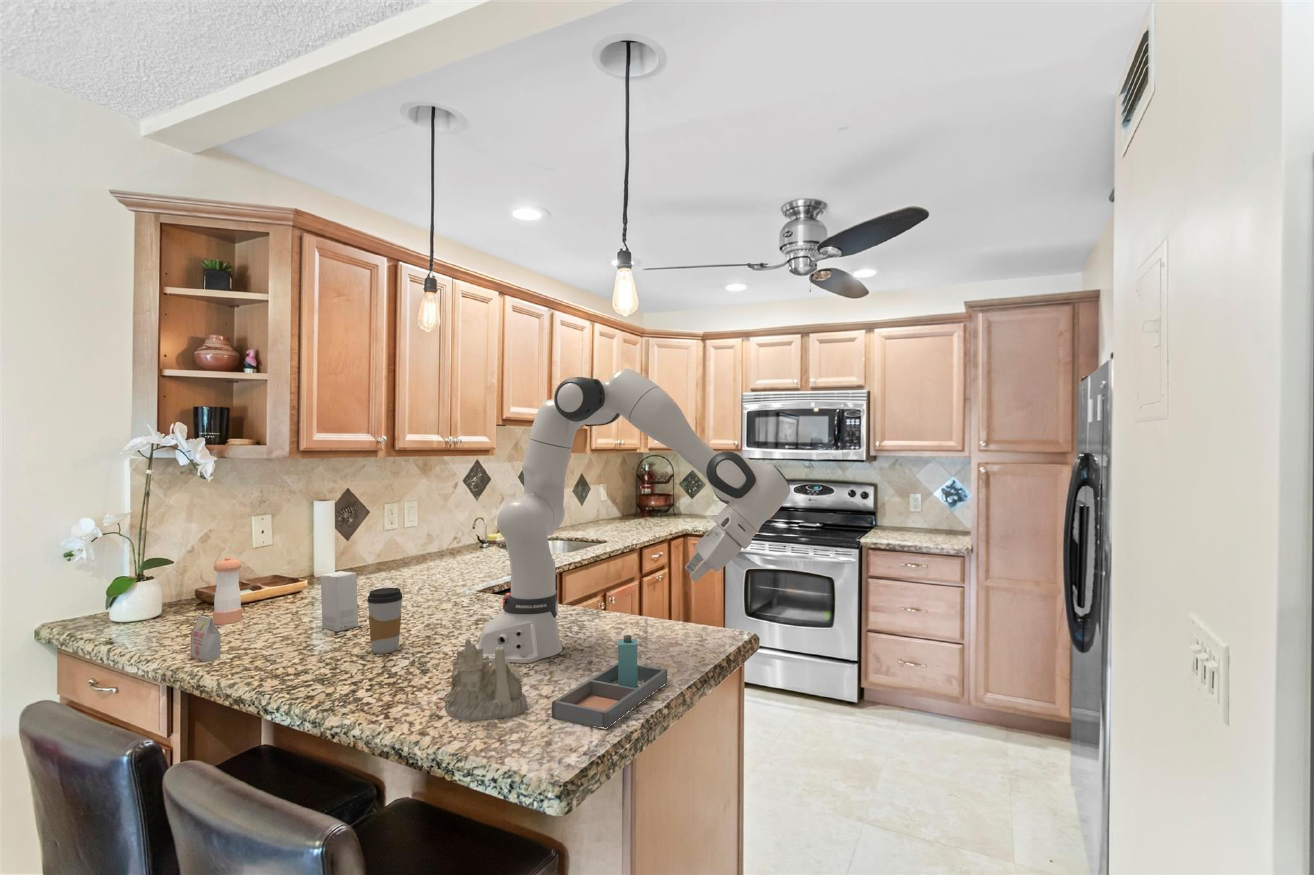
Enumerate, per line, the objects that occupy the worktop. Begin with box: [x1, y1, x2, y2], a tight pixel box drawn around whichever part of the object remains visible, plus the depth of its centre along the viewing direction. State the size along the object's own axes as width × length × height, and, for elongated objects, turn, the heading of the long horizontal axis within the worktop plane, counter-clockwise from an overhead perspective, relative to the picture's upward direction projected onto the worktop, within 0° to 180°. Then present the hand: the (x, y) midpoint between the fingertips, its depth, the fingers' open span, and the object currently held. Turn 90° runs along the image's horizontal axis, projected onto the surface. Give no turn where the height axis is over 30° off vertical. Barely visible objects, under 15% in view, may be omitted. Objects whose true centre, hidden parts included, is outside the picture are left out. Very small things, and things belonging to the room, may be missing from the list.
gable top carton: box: [190, 614, 221, 663], centre depth 157 cm, size 4×7×10 cm, turn 58°
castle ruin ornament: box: [444, 637, 528, 722], centre depth 128 cm, size 16×16×15 cm
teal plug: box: [617, 634, 639, 688], centre depth 134 cm, size 4×4×11 cm
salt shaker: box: [212, 556, 243, 625], centre depth 191 cm, size 7×7×19 cm
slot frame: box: [551, 662, 668, 728], centre depth 129 cm, size 25×12×3 cm, turn 153°
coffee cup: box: [366, 587, 403, 655], centre depth 162 cm, size 8×8×15 cm
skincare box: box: [320, 570, 359, 632], centre depth 183 cm, size 8×7×16 cm
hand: (689, 574), depth 138 cm, fingers open, 8 cm apart
